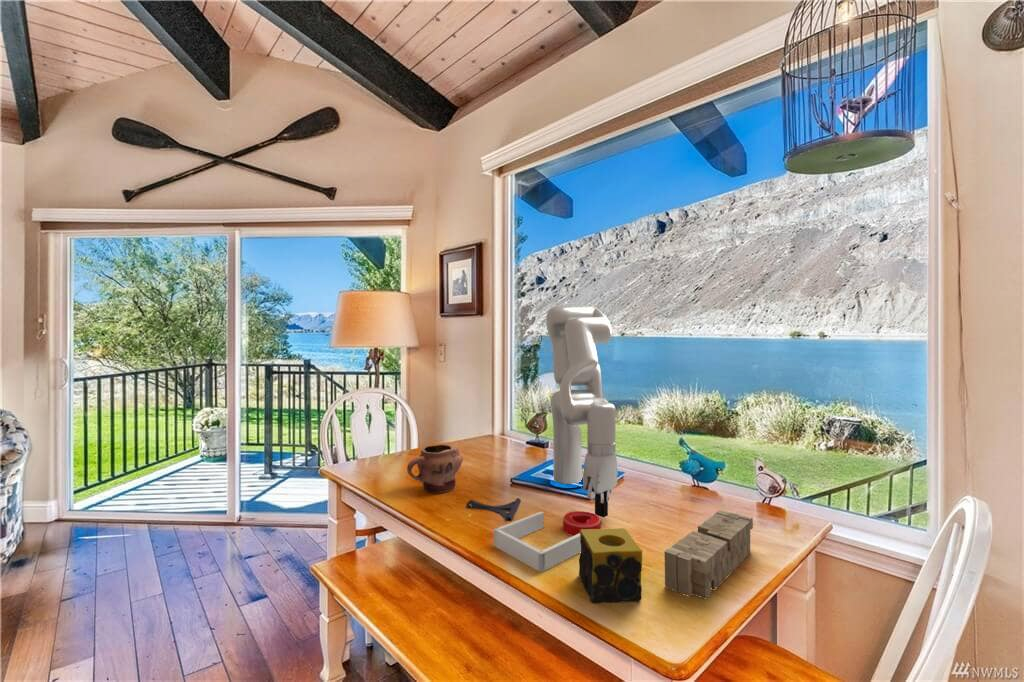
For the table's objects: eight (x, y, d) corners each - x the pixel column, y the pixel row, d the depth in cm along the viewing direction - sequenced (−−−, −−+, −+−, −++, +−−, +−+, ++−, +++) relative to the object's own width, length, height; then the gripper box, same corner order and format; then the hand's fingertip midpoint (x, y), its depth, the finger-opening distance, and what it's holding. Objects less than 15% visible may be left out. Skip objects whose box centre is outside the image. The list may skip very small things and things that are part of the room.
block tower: (702, 608, 85) (754, 551, 105) (702, 565, 84) (754, 515, 105) (663, 591, 90) (719, 539, 111) (663, 550, 90) (719, 506, 110)
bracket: (473, 500, 139) (473, 491, 139) (520, 503, 136) (520, 494, 136) (459, 519, 124) (459, 509, 124) (512, 523, 122) (512, 513, 122)
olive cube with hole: (578, 575, 94) (578, 528, 94) (624, 573, 95) (625, 526, 95) (590, 605, 84) (590, 552, 84) (642, 602, 85) (643, 550, 85)
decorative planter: (420, 503, 134) (420, 457, 134) (398, 493, 142) (398, 450, 142) (471, 487, 149) (471, 445, 148) (448, 478, 157) (448, 439, 157)
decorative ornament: (564, 521, 122) (564, 509, 122) (600, 523, 121) (600, 511, 121) (562, 536, 113) (562, 524, 113) (601, 539, 111) (601, 527, 111)
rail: (540, 526, 118) (540, 511, 118) (589, 548, 106) (589, 531, 106) (493, 546, 108) (493, 529, 107) (541, 572, 96) (541, 554, 95)
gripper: (606, 441, 130) (606, 504, 130) (572, 450, 120) (572, 518, 120) (628, 446, 124) (628, 512, 124) (595, 456, 114) (595, 527, 114)
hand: (601, 515), depth 122 cm, fingers closed
